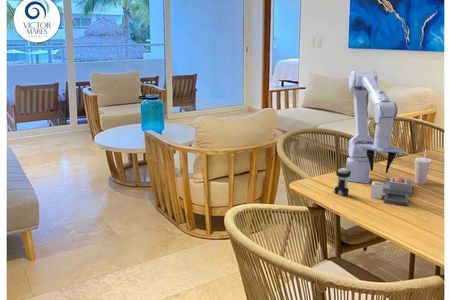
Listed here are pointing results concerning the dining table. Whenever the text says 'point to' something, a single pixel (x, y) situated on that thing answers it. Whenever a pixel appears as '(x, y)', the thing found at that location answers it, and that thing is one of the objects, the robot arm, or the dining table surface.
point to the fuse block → (377, 190)
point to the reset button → (398, 180)
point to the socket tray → (396, 198)
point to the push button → (342, 181)
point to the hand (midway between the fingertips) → (379, 171)
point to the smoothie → (421, 169)
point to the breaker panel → (398, 186)
